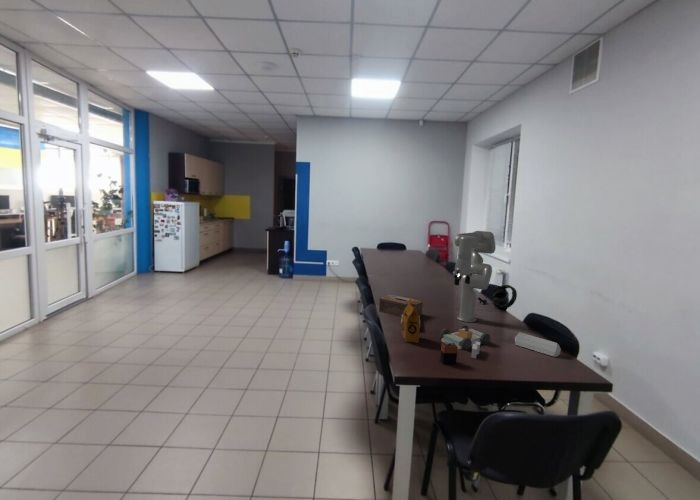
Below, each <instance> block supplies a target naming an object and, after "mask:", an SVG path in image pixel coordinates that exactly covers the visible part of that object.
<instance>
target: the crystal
mask: <svg viewBox="0 0 700 500" xmlns="http://www.w3.org/2000/svg"><path fill="white" fill-rule="evenodd" d="M514 342H515V345H516V346H519V347H521V348H522V347H523V348H525V349H528V350H532V351H535V352H538V353H541V354H544V355H548V356H552V357H554V358H556V357H558V356H560V354H561V350H562V348H561V347H560V344H558V343H557V342H556V341H552V340H548V339H546V338H545V339H544V338H541V337H537V336H534V335H530V334H527V333H524V332H518V333H517V334H516V336H515V337H514Z"/></svg>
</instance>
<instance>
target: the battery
mask: <svg viewBox="0 0 700 500" xmlns="http://www.w3.org/2000/svg"><path fill="white" fill-rule="evenodd" d="M440 348H441V349H440V357H439V358H440V359H439V361H440V362H441V363H442V365H456V364H457V359H458V349H457V348H458V347H457V345H455V343H448V342H445V343H444V342H442V343H441V347H440Z"/></svg>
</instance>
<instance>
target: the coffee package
mask: <svg viewBox="0 0 700 500" xmlns="http://www.w3.org/2000/svg"><path fill="white" fill-rule="evenodd" d="M411 299H412V298H410V299H409V300H408V301H409V304H408V305H407V307H406V308H405V310H404V312H403V320H402V328H401V336H402V338H403V339H404V340H405V342H406V343H415V344H417V343H419V340H420V330H421V321H420V322H419V316H418V313H417V310H416V307H415V302H414V301H413V300H411Z"/></svg>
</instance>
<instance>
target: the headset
mask: <svg viewBox="0 0 700 500" xmlns="http://www.w3.org/2000/svg"><path fill="white" fill-rule="evenodd" d="M506 289H510V290H511V298H510V300H508V302H506V301H505V300H504V298H506V297H507V290H506ZM492 294H493V297H494V299H493V301H492V300H491V299H490V298H488V299H487V298H484V299H482V298H481V297H479V296H478V297H477V299H478V301H479V304H487V302H488V301H487V300H489V301H490V302H491V303H492V304H493V306H494V307H495V308H497V309H500V310H501V309H504V310H505V309H508V308H510V307H512V306H513V305H514V304H515V302H516V301H517V297H518V295H517V294H518V292H517V290H516V288H515V287H513V286H512V285H508V284H504V285H498V286H496V287H494V288H493V290H492Z"/></svg>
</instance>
